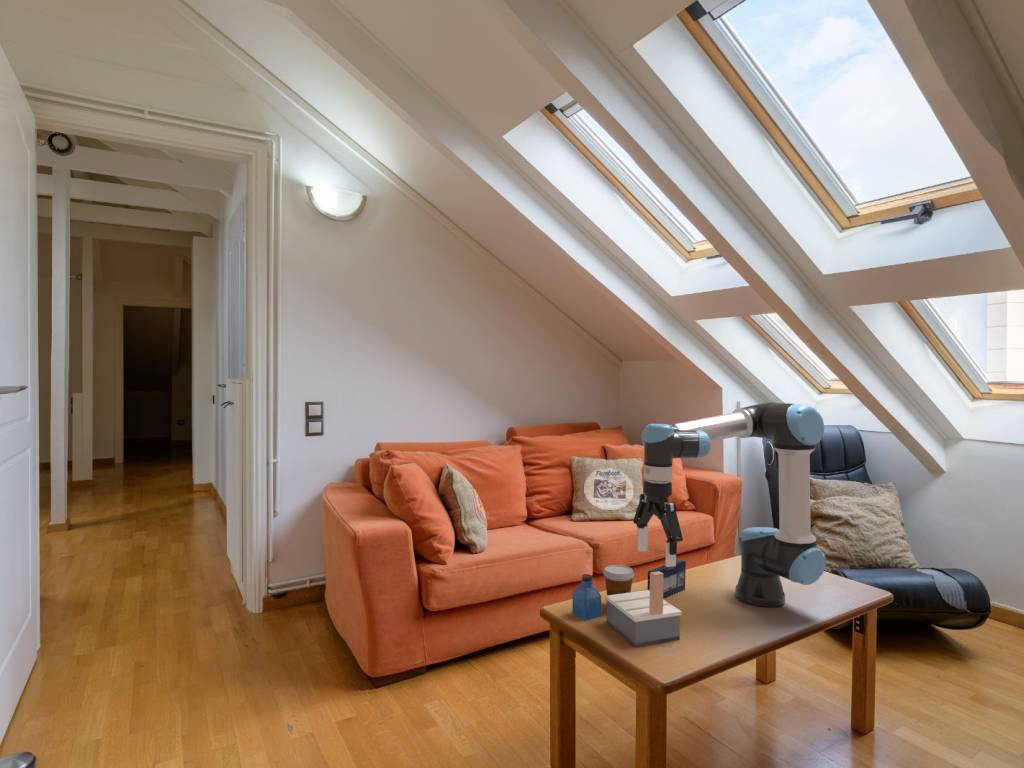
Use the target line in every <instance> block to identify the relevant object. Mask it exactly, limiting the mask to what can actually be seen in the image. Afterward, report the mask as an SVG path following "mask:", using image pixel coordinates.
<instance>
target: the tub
mask: <svg viewBox="0 0 1024 768" xmlns="http://www.w3.org/2000/svg"><path fill="white" fill-rule="evenodd" d="M606 624H607V625H609V626H610V627H611V628H612V629H613V630H614V631H615V632H616V633H618V634H619V635H620V636H621V637H623V638H624V639H625V640H626V641H627V642H629V643H630V645H632V646H633V647H635V648H638V647H644V646H645V647H646V646H650V645H657V644H662V643H668V642H674V641H680V639H681V638H680V637H681V636H680V634H681V631H680V630H681V627H680V626H681V625H680V624H681V615H678V616H672V617H665V618H659V619H652V620H646V621H639V622H635V621H633V620H632V619H631V618H629V617H628V616H627V615H625V614H624V613H623V612H622V611H620V610H619V609H618V608H616V607H615V606H614V605H613V604H611V603H610V602H609V601H607V600H606Z"/></svg>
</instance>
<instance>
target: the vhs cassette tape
mask: <svg viewBox="0 0 1024 768" xmlns="http://www.w3.org/2000/svg"><path fill="white" fill-rule="evenodd" d="M686 561H687V560H683V559H678V560H676V566H672V567H666V566H665V565H661V566H659V567H655V568H653V569H651V570H648V571H647V590H649V591H650V572H658V571H660V572H661V573H663V600H665V599H666V598H669V596H670V597H672V596H674V595H676V593H677V594H679V593H682V592H684V591H685V590H686V571H687V570H686V567H687V564H686V563H687V562H686ZM683 590H684V591H683ZM678 592H679V593H678ZM673 594H674V595H673ZM671 595H672V596H671ZM664 598H665V599H664Z"/></svg>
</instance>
